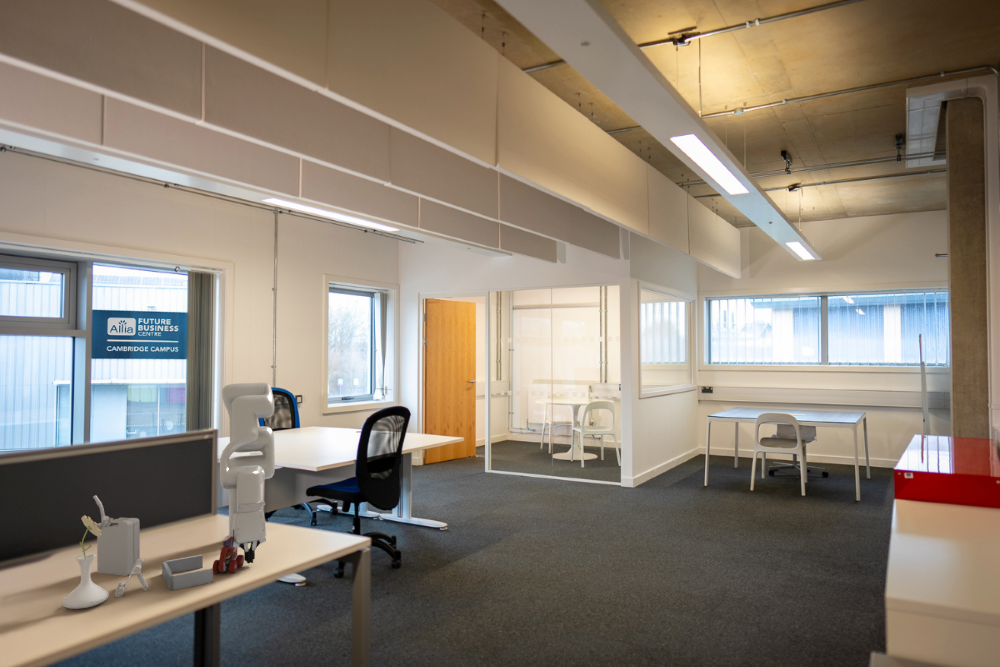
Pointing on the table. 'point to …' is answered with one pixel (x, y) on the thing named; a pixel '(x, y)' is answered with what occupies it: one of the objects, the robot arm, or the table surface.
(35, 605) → the table surface
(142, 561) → the portable electronic device stand
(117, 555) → the fuel canister
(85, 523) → the flower in vase
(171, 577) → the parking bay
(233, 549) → the toy fire truck
